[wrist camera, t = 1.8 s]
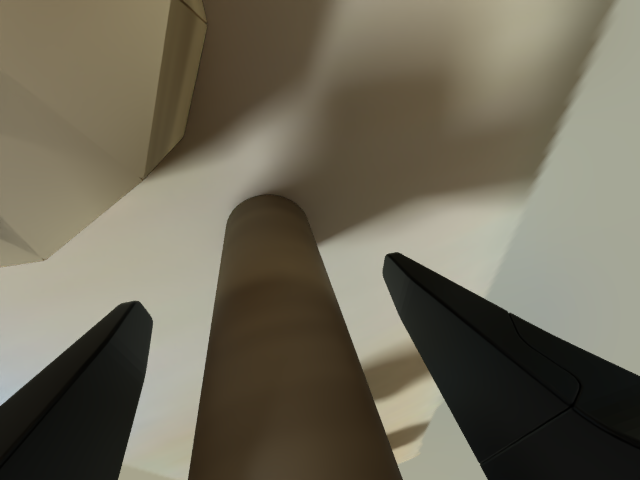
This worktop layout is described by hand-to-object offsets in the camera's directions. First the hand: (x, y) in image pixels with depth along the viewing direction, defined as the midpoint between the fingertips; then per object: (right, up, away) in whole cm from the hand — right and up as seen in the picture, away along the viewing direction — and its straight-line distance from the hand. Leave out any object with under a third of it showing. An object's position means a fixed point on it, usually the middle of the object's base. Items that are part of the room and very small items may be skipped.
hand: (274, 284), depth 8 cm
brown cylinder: (-1, +2, +2) cm, 3 cm away
